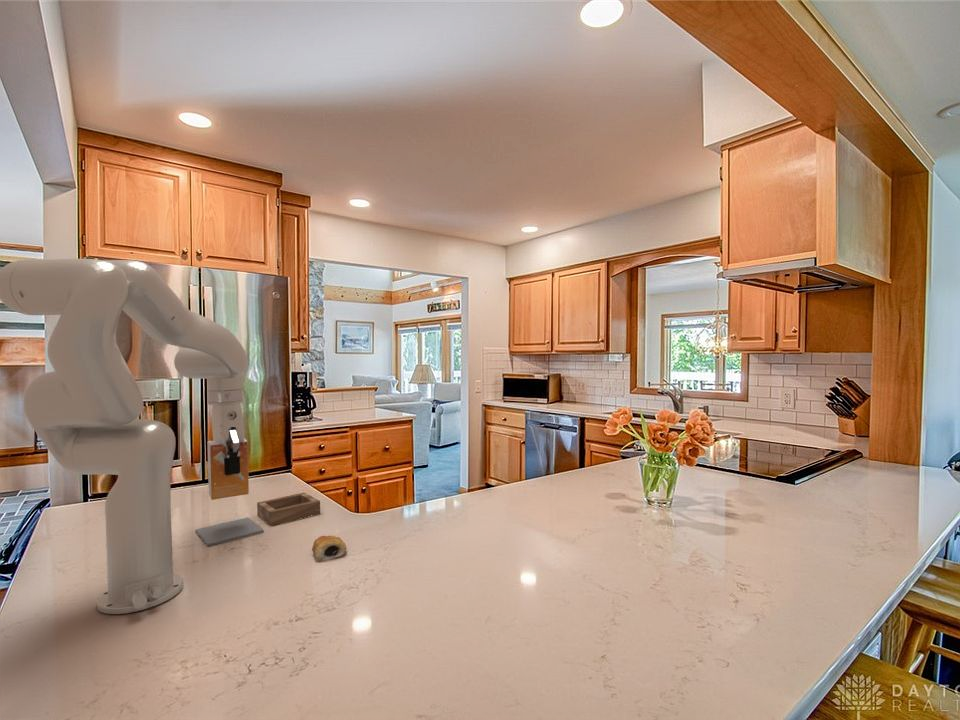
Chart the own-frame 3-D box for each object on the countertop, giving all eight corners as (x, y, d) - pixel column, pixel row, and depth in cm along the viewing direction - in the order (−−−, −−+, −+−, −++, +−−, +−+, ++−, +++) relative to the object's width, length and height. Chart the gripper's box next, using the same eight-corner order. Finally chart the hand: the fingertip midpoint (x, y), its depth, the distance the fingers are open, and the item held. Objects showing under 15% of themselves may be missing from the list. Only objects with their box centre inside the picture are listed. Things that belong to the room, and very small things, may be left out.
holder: (320, 514, 127) (320, 500, 127) (271, 526, 119) (271, 512, 119) (304, 504, 135) (304, 492, 135) (257, 515, 127) (257, 502, 127)
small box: (211, 501, 111) (209, 445, 110) (208, 493, 116) (206, 440, 115) (249, 494, 115) (248, 440, 115) (245, 487, 120) (243, 436, 120)
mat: (263, 532, 115) (263, 529, 115) (207, 546, 107) (207, 544, 107) (248, 519, 124) (248, 517, 124) (195, 532, 116) (195, 529, 116)
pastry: (307, 548, 106) (307, 531, 106) (338, 542, 109) (338, 525, 109) (316, 564, 98) (315, 546, 98) (349, 557, 101) (349, 539, 101)
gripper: (253, 398, 111) (256, 475, 111) (232, 393, 124) (234, 462, 124) (217, 401, 106) (220, 481, 106) (199, 396, 118) (201, 467, 119)
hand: (227, 470), depth 115 cm, fingers closed on small box, 6 cm apart
